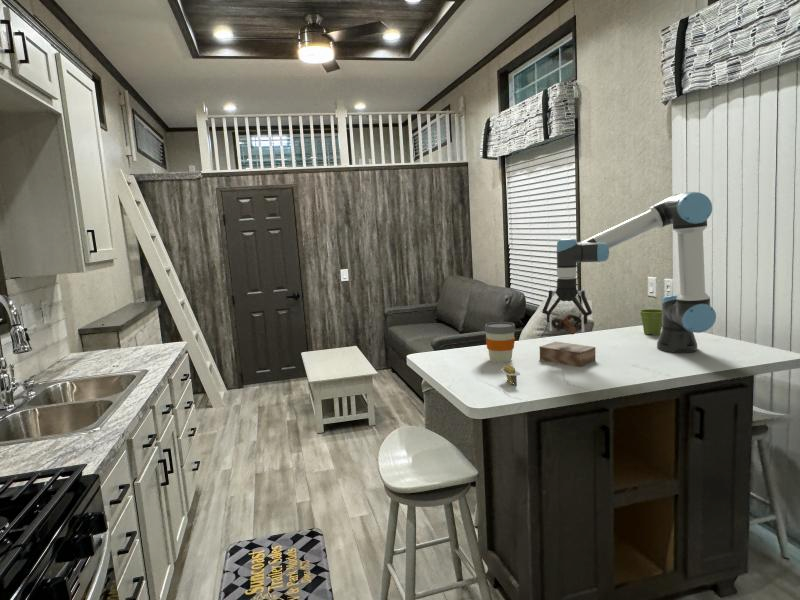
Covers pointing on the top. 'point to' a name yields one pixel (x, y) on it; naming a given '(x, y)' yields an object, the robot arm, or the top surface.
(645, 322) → the plant pot
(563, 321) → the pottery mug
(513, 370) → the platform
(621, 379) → the top surface
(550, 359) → the walnut box
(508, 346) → the reusable coffee cup
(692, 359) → the top surface
